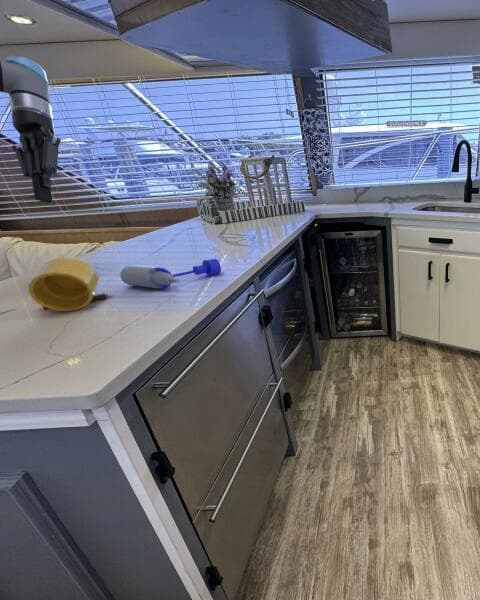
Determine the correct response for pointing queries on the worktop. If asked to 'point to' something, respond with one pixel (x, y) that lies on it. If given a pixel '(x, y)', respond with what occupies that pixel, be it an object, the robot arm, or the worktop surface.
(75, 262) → the bowl
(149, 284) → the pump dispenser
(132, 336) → the worktop surface
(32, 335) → the worktop surface
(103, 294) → the stop bar
